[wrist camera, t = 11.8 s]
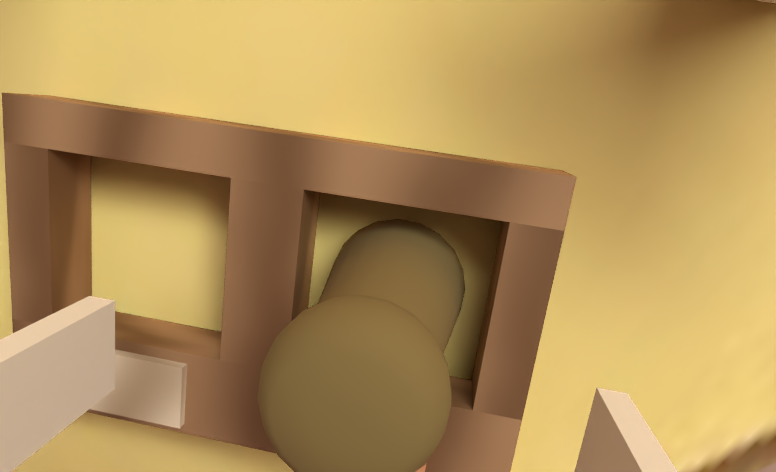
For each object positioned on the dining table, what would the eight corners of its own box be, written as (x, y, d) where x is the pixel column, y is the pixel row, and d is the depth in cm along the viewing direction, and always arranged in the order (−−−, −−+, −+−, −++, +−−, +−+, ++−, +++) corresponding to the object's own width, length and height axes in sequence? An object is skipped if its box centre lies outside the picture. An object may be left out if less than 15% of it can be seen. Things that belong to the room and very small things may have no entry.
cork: (381, 369, 24) (316, 570, 13) (306, 265, 23) (173, 387, 12) (491, 305, 22) (519, 472, 12) (414, 192, 22) (369, 259, 11)
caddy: (56, 371, 26) (8, 400, 24) (50, 95, 23) (-7, 92, 20) (498, 464, 24) (504, 509, 21) (562, 170, 21) (578, 178, 18)
